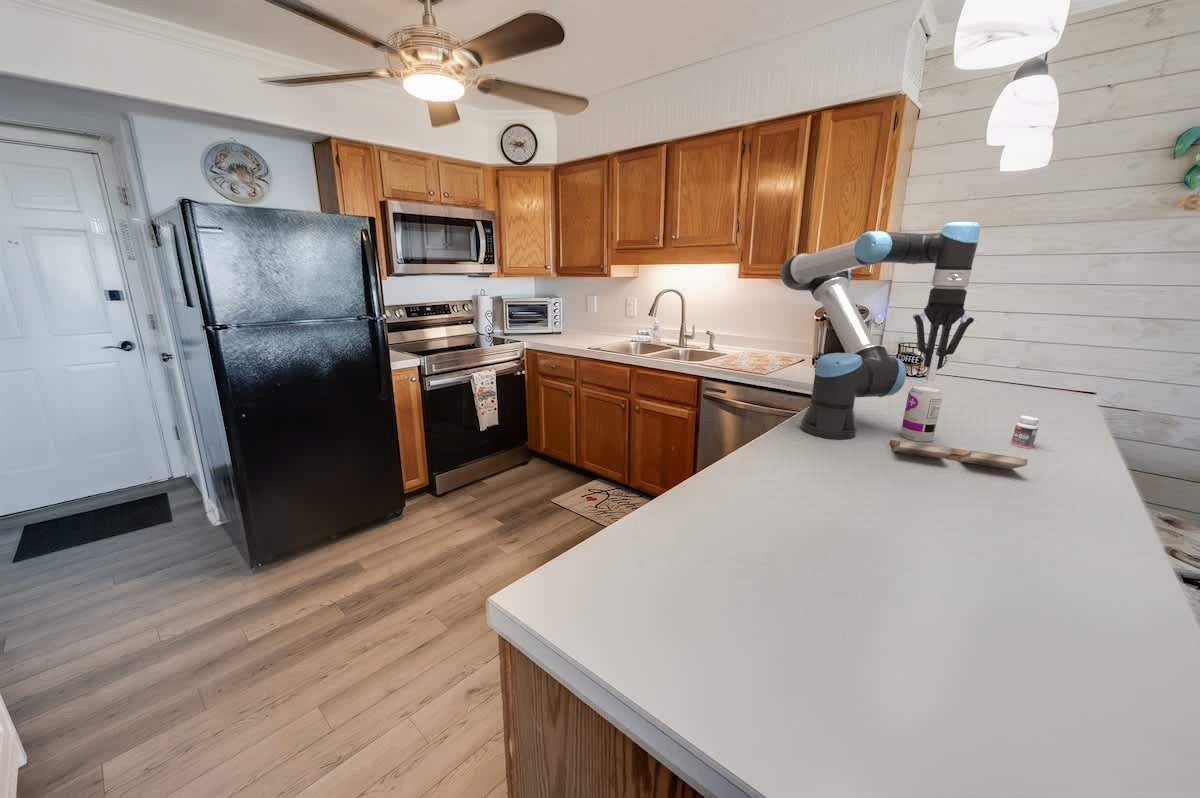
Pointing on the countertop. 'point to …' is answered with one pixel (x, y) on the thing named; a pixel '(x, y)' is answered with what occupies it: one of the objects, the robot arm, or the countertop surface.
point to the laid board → (954, 452)
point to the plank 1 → (922, 449)
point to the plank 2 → (993, 460)
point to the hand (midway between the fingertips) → (929, 379)
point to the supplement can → (921, 413)
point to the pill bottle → (1025, 432)
